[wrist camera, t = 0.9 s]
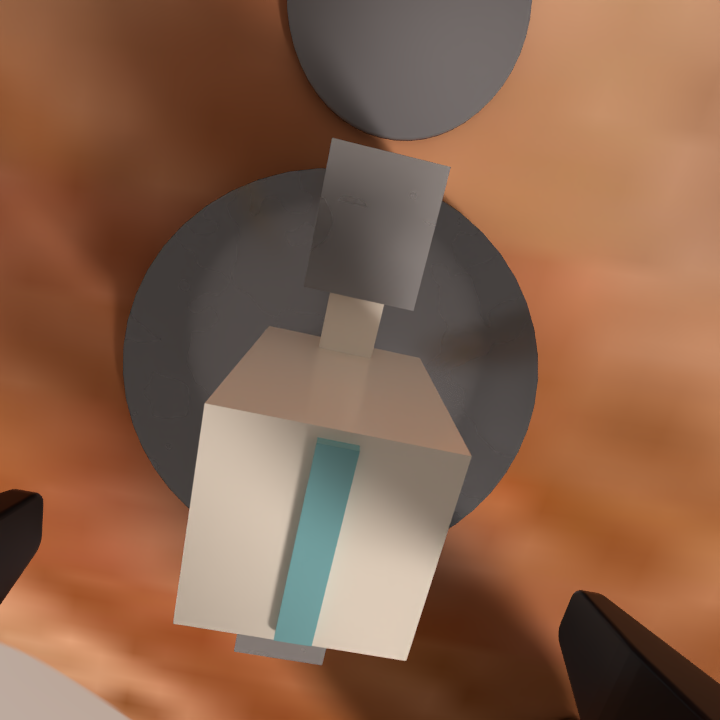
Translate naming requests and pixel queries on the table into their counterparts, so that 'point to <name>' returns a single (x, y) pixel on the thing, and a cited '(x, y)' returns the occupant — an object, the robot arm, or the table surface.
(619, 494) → the table surface
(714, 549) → the table surface
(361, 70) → the rubber pad
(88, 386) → the table surface
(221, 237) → the lugged metal disc
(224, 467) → the cream block with tab
